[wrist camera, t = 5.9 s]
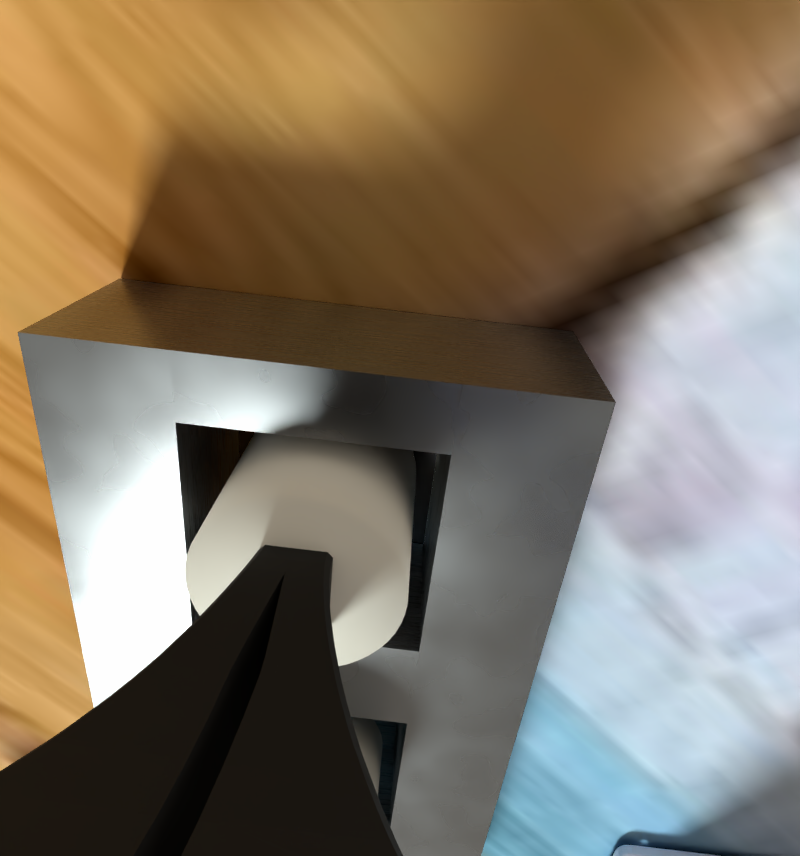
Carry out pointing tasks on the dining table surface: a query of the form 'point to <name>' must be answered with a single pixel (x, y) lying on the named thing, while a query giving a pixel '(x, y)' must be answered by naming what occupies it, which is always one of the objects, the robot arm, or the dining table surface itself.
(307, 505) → the knob
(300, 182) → the dining table surface
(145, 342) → the knob mount
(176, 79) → the dining table surface
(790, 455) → the dining table surface
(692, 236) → the dining table surface
